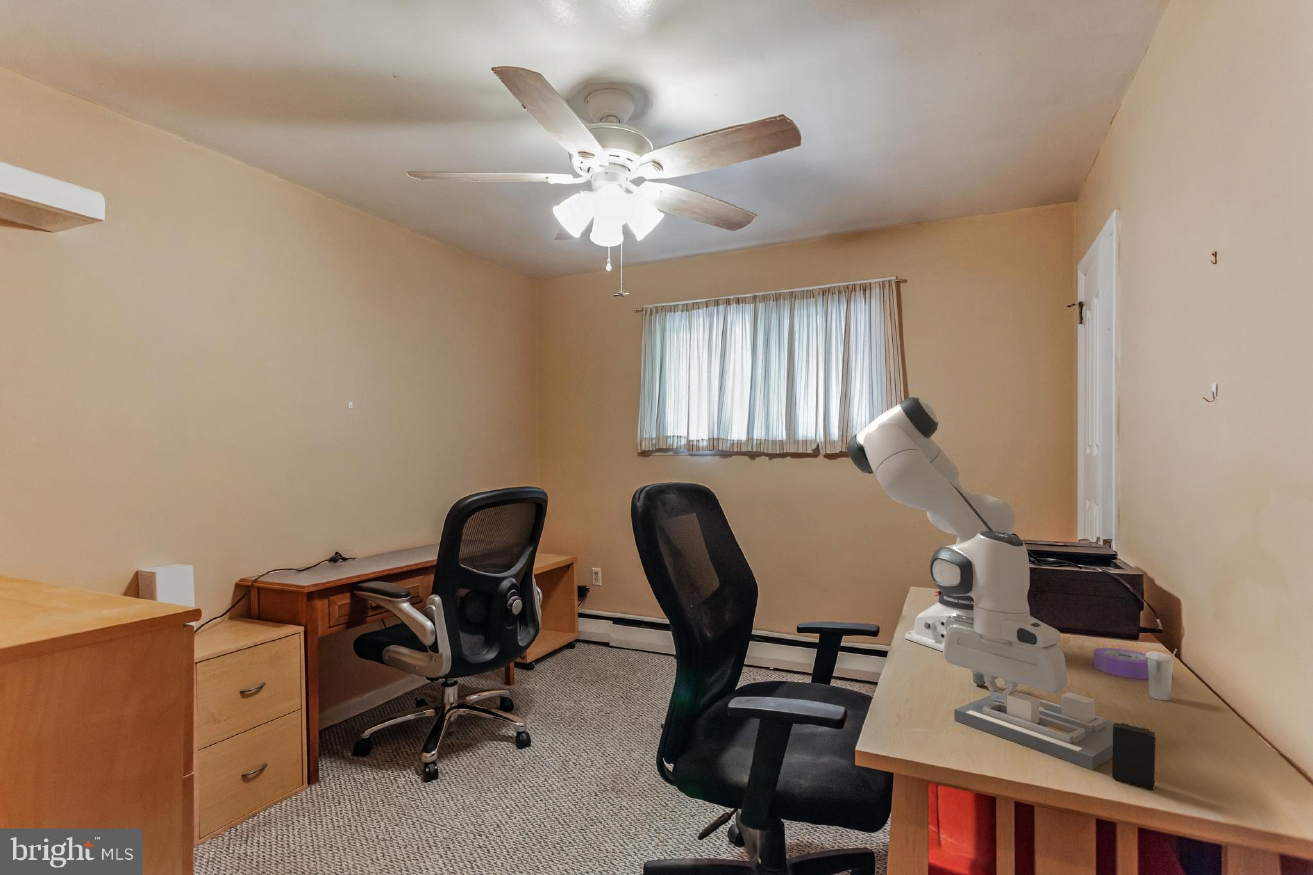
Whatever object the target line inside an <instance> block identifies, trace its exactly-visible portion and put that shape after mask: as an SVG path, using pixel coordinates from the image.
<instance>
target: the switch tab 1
mask: <svg viewBox="0 0 1313 875" xmlns="http://www.w3.org/2000/svg"><path fill="white" fill-rule="evenodd" d="M1039 699H1040V698H1038V697H1035V696H1031V695H1027V694H1024V693H1021V692H1017V691H1014V692H1013V693H1011V694H1008V695H1007V715H1010V716H1013V717H1016V718H1019V719H1022V720H1025V721H1028V722H1031V723H1034V724H1037V723H1039Z"/></svg>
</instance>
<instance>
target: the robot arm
mask: <svg viewBox="0 0 1313 875" xmlns="http://www.w3.org/2000/svg"><path fill="white" fill-rule="evenodd" d="M935 412H936V411H935V410H934V409H933V407H932V406H931V405H930V404H928V403H927V402H925V401H924V400H922V399H920V398H919V397H915V396H914V397H913V396H912V397H908V398H905V399H904V400H901V401H899V403H898V404H897V405H894V406H892V407H891V408H889V409H888V410H886V411H884V412H883V413H881V414H879V416H877V417H875V419H874V420H873V421H871V422H870V423H869V424H867V425H866V426H865V427H864V428H862V429H861V431H859V433H855V434H854V435H853V436H851V438H850V439H849V441H848V442H847V446H846V452H847V454H848V457H849V459H850V460H849V461H850V462H851V463H852V465H854V467H856V468H857V469H858V470H860V471H861V472H862V473H863V474H867V475H868V474H869V475H872V474H874V476H875V477H876V480H877V481H878V483H879V485H880V487H881V488H882V490H883V491H884V492H885V493H886V494H887V496H888V497H889V498H890V499H891V500H893V501H894V502H896V503H898V504H900V505H904V506H906V507H910V508H915V509H918V510H920V511H921V510H922V511H924V512H926V514H927V515H926V516H927V519H928V520H929V522H930V524H931V525H932V526H934V527H935V528H937V530H940V531H942V532H944V533H946V534H950V535H955V536H956V542H955V543H954V544H951V545H945V546H941V547H939V548H937V549H936V550H935V551H934V553H933V555H932V556H931V559H930V562H929V573H930V577H931V581H932V582H933V584H934V585H935V586H936V587H937V589H938V590H937V591H934V593H935V594H934V597H938V600H937V602H936V603H934V604H933V605H931V606H929V607H927V608H926V609H925V610H923V611H921V612H920V613H919V614H917V616H916V617H915V622H914V627H913V629H911V630H909V631H906V633H905V634H904V638H905V639H906V640H909V641H912V642H915V643H917V644H920V645H923V646H927V647H929V648H932V649H934V650H937V651H940V652H942V654H943V655H942V656H943V658H944V660H945V662H946V663H947V664H950V665H954V666H957V667H959V668H960V667H961V668H964V669H968V670H974V671H977V672H981V673H984V681H985V682H986V684H985V685H986V686H987V688H988V690H989V692H990V695H989V696H990V699H991V700H992V701H995V702H999V703H1001V704H1005V705H1007V695H1008V694H1011V693H1013V692H1016V689H1017V688H1018V687H1019V685H1023V686H1026V687H1029V688H1032V689H1036V690H1040V691H1042V692H1046V693H1049V694H1056V693H1059V692H1061V691H1063V690H1064V689H1065V688H1066V687H1067V683H1068V682H1067V680H1068V679H1067V678H1068V677H1067V664H1066V659H1065V654H1064V651H1063V650H1062V649H1061V647H1060V646H1059V645H1057V644H1058V643H1059V642H1061V638H1062V636H1061V632H1060V631H1059V630H1057V629H1056V628H1054V627H1052V626H1050V625H1048V624H1046V623H1045V622H1042V621H1040V620H1038V619H1037V618H1035V617H1033V616H1032V615H1030V612H1031V611H1030V606H1029V602H1028V592H1029V589H1030V582H1031V581H1030V579H1031V578H1030V572H1031V571H1030V560H1029V555H1028V549H1027V546H1026V544H1025V542H1024V541H1023V540H1022V539H1021V538H1020V537H1018V536H1017V535H1014V534H1011V533H1012V532H1013V530H1014V528H1015V526H1016V513H1015V511H1014V509H1013V507H1012V506H1011V505H1010V504H1009V503H1008V502H1007V501H1005V500H1003V499H1000V498H998V497H994V496H992V495H989V494H988V495H987V494H976V493H970V492H968V491H967V490H965V489H964V487H963V486H962V485H961V484H960V480H959V477H960V472H959V471H960V470H959V469H958V468H959V467H958V466H956V464H955V463H954V462H953V461H952V459H950V457H949V456H948V455H947V454H946V453H945V452H944V451H943V449H942V448H941V447H940V446H939V445H938V444H937V442H935V441H934V439H933V438H931V437H932V436H933V435H935V433H936V432H937V430H938V427H939V421H938V418H937V415H936V413H935ZM997 679H1002V680H1003V685H1004V686H1006V689H1004V690H1005V691H1003V690H1001V689H999V686H998V685H997V682H996V680H997Z"/></svg>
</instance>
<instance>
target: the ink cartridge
mask: <svg viewBox="0 0 1313 875" xmlns="http://www.w3.org/2000/svg"><path fill="white" fill-rule="evenodd" d="M1113 723H1114V725H1113V754H1112V758H1111V759H1112V761H1111V777H1112V779H1114V780H1115V781H1117V782H1120V783H1123V784H1127V785H1131V786H1134V787H1137V788H1141V789H1145V790H1149V791H1154V790H1155V789H1154V788H1155V783H1156V781H1155V776H1156V775H1155V773H1156V770H1155V769H1156V765H1155V764H1156V762H1155V761H1156V737H1157V736H1156V732H1154V731H1151V730H1150V729H1149V728H1145V727H1138V726H1135V725H1131V724H1129V723H1123V722H1121V723H1119V722H1113Z"/></svg>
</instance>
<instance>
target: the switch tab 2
mask: <svg viewBox="0 0 1313 875" xmlns="http://www.w3.org/2000/svg"><path fill="white" fill-rule="evenodd" d="M1060 697H1061V701H1060V702H1061V713H1062V715H1063V716H1066V717H1070V718H1073V719H1076V720H1079V721H1083V722H1086V723H1091V722H1093V721H1095V716H1096V715H1095V714H1096V713H1095V711H1096V710H1095V707H1096V706H1095V705H1096V704H1095V701H1096V700H1095V699H1094V698H1090V697H1088V696H1084V695H1080V694H1077V693H1073V692H1066V693H1064V694H1062V695H1061V696H1060Z"/></svg>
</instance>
